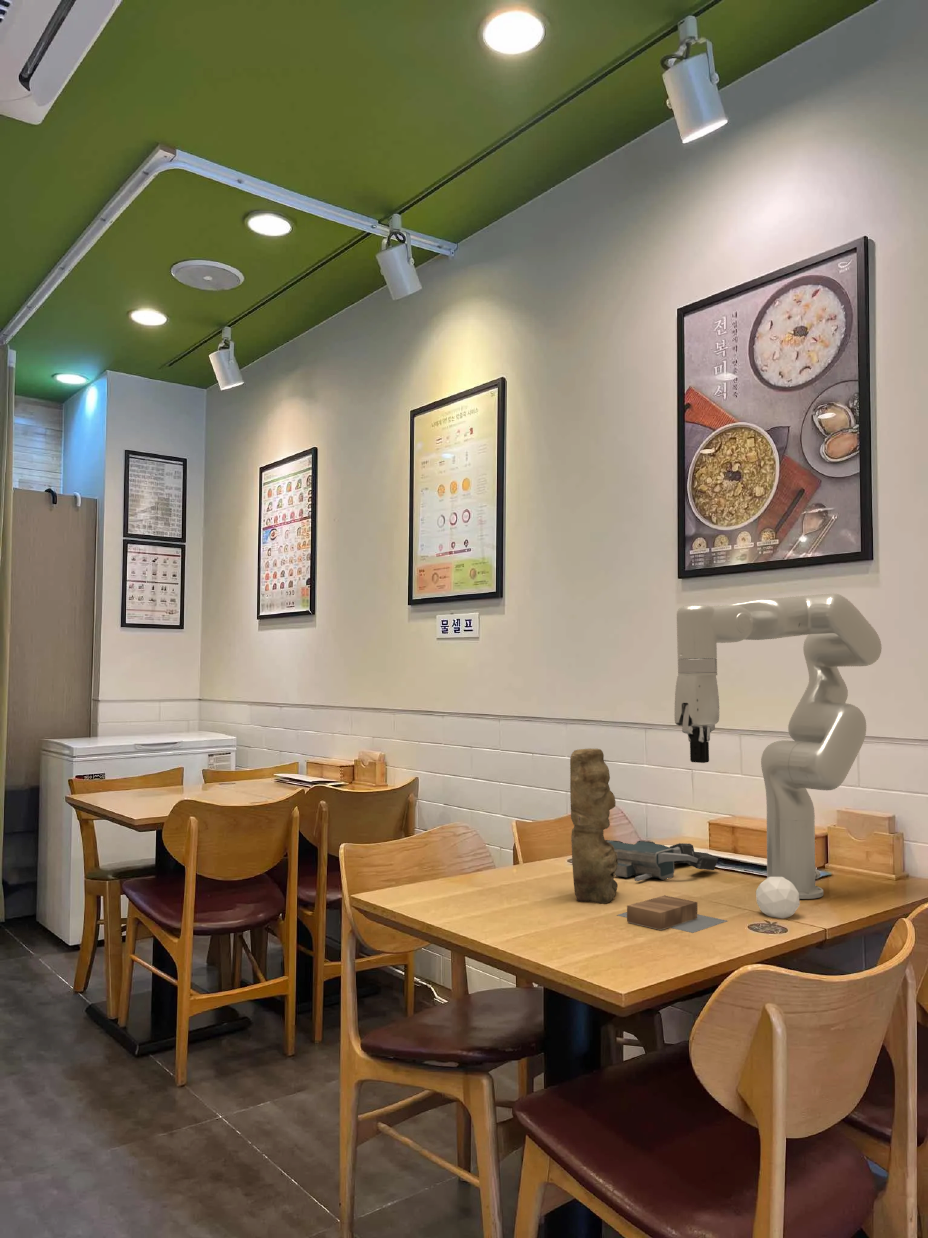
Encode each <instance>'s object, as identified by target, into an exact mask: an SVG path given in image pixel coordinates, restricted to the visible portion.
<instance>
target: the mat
mask: <svg viewBox="0 0 928 1238" xmlns="http://www.w3.org/2000/svg"><path fill="white" fill-rule="evenodd" d="M616 916H617V917H621V918H626V919H627V911H626V912H623V913H620V914H619V913H618V914H616ZM726 922H728V920H727V919H726V920H725V919H722V918H716V917H712V916H707V915H704V914H698V913H697V918H696V919H695V920H691V921H688V922H685V923H682V924H679V925H676V926H672V927H669V929H675V930H678V931H683V932H687V933H691V934H694V933H697V932H700V931H703V930H705V929H708V928H711V927H715V926H718V925H721V924H724V923H726Z"/></svg>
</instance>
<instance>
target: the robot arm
mask: <svg viewBox="0 0 928 1238" xmlns="http://www.w3.org/2000/svg"><path fill="white" fill-rule="evenodd" d="M799 636H800V637H801V636H806V637H805V639H804V641H803V647H802V648H803V655H804V660H805V663H806V667H807V672H808V684H807V687H806V688H805V691H804V692H803V694H802V696H801V698H800V699H799V702H798V704H797V706H796V707H795V708H794V711H793V713H792V715H791V717H790V719H789V722H788V725H787V731H788V734H789V736H790V739H792V740H778V741H774V742H772V743H770V744H767V746H766V747H765V748H764V750H763V751H762V753H761V757H760V758H761V759H760V765H761V767H760V768H761V772H762V773H761V774H762V777H763V781H764V788H765V799H766V879H767V878H768V877H784V878H785V879H787V880H788V881H790V882H791V883H792V884H793V885H794V886H795V888H796V889H797V891H798V892H799V900H812V899H813V900H814V899H820V898H822V897H823V896H824V888H822V887H821V886H817V885H816V880H817V879H819V878H821V872H820V870H819V869H817V868H816V845H815V844H816V842H815V839H816V838H815V837H816V836H815V834H816V832H815V826H816V825H815V824H816V823H815V819H816V817H815V807H814V802H813V800H812V798H811V796H810V793H809V792H808V790H807V789H809V790H815V791H833V790H836V789H837V788H839V787H840V786H842V784H843V783H844V782H845V779H846V778H847V777H848V774H849V772H850V771H851V768H852V766H853V764H854V762H855V761H856V759H857V756H858V755H859V753H860V750H861V749H862V746H863V744H864V743H865V739H866V735H867V734H866V733H867V721H866V720H867V719H866V716H865V713H863V711H862V710H861V709H860V708H859V707H857V706H856V705H854V704H851V703H846V702H847V699H848V696H849V692H848V691H849V690H848V686H847V684H846V682H845V680H844V678H843V677H842V675H841V673H840V670H839V668H840V667H842V668H843V667H844V668H845V667H867V666H868V667H869V666H871V665H874V664H875V663H876V662H877V661H878V660H879V659H880V656H881V654H882V643H881V638H880V635H879V634H878V632H877V631H876V629H875V628H874V627H873V626H872V624H871V623H870V622H869V621H868V620H867V619H866V617H865V616H864V615H863V613H862V612H861V611H860V609H858V608H857V607H856V605H854V603H852V602H851V601H850V600H849V599H848V598H846V597H845V596H843V595H842V594H839V593H823V594H811V595H809V594H808V595H798V596H797V595H795V596H787V597H786V596H785V597H775V598H764V599H757V600H751V601H747V602H741V603H733V604H723V605H712V606H711V605H704V604H701V605H699V604H697V605H694V604H693V605H684V606H681V607H679V608H678V610H677V611H676V641H677V642H676V644H677V647H676V648H677V649H676V650H677V676H676V677H677V678H676V682H675V683H676V684H675V691H674V714H673V715H674V723H675V725H676V726H678V727H681V731H682V733H684V734H686V735H687V738H688V742H689V755H690V756H689V757H690V759H689V761H690V762H691V763H699V764H700V763H701V764H706V763H709V762H710V746H709V745H710V740H711V733H712V732H713V731H714V730H716V724H718V723H719V722H720V699H719V697H720V696H719V685H718V680H717V676H718V659H717V658H718V653H717V652H718V648H717V645H718V643H720V644H725V643H727V644H728V643H738V642H741V641H743V640H746V641H748V640H751V641H762V640H764V641H765V640H774V639H775V640H776V639H782V638H783V639H784V638H791V637H799ZM838 667H839V668H838Z"/></svg>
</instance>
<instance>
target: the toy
mask: <svg viewBox="0 0 928 1238" xmlns="http://www.w3.org/2000/svg"><path fill="white" fill-rule="evenodd" d="M605 841H607V842H609V843H611V844H612V845H613V846H614V851H615V852H617V858H618V867H617V870H616V871H615V873H616V874H615V877H621V878H630V877H632V876H635V878H634V881H636V882H641V881H644V880H647V879H651V878H654V879H660V880H661V881H665V880H664V879H667V878H670V879H672V878H673V876H674V874H675V864H687V865H689V866H691V867H693V868H695V869H698V870H706V871H707V870H708V871H715V868H716V866H717V863H718V860H719V857H717V856H714V855H712V854H710V853H708V852H701V851H695V849H694V845H693V844H692V843H684V842H683V843H680V842H679V843H676V844H674V845H670V846H667V845H664V844H659V843H655V842H654V841H650V840H649V841H648V840H636V843H627V842H623V841H620V840H614V839H613V840H611V839H605ZM667 880H668V879H667Z"/></svg>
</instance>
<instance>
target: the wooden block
mask: <svg viewBox="0 0 928 1238" xmlns="http://www.w3.org/2000/svg"><path fill="white" fill-rule="evenodd" d="M626 912H627V918H626V922H627V923H628V924H632V925H638V926H641V927H644V928H650V929H654V930H658V931H663V930H666V929H668V928H669V927H672V926H676V925H679V924H682V923H685V922H688V921H691V920H695V919H696V918H697V914H698V901H694V900H689V899H684V898H679V897H673V896H670V895H665V894H664V895H661V896H657V897H654V898H651V899H647V900H642V901H639V902H635V903H631V904H627V905H626ZM669 929H670V928H669Z"/></svg>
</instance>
